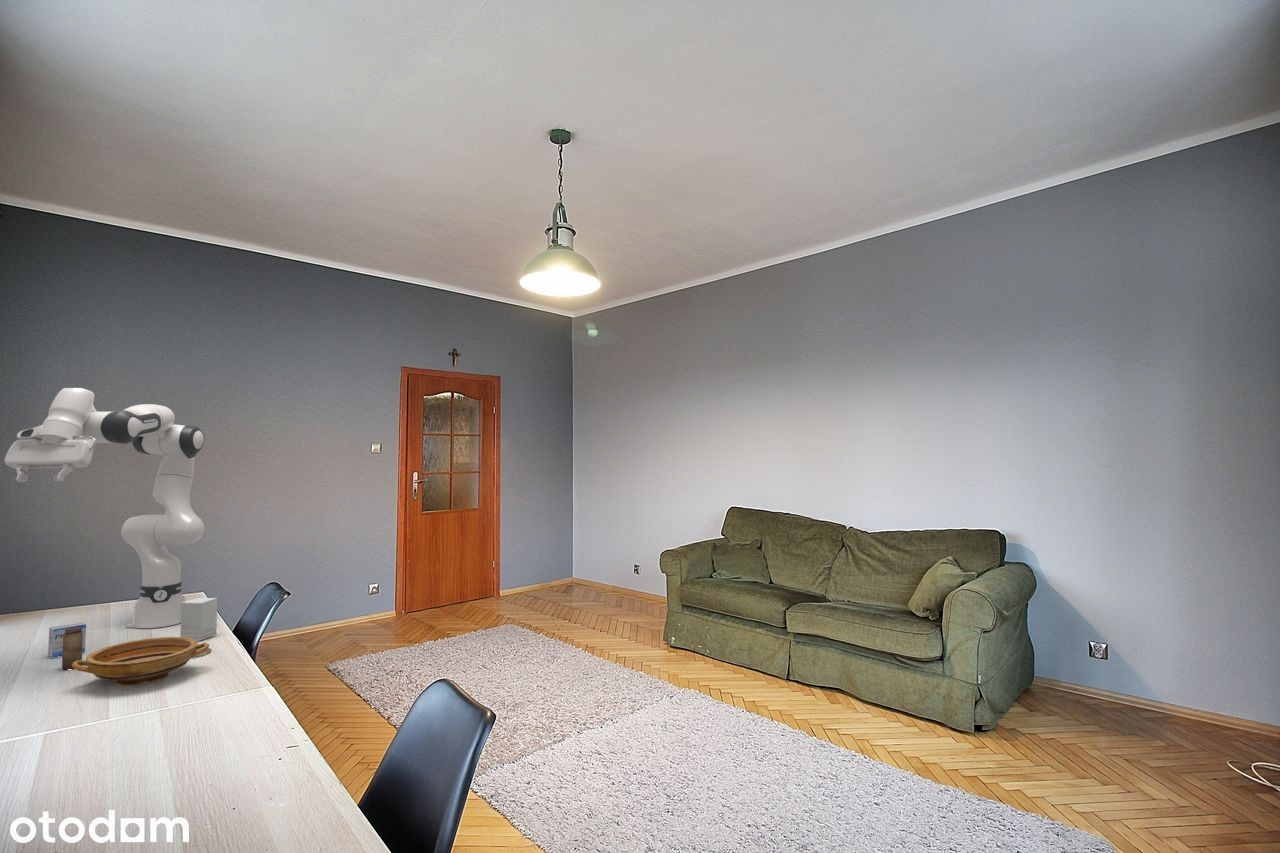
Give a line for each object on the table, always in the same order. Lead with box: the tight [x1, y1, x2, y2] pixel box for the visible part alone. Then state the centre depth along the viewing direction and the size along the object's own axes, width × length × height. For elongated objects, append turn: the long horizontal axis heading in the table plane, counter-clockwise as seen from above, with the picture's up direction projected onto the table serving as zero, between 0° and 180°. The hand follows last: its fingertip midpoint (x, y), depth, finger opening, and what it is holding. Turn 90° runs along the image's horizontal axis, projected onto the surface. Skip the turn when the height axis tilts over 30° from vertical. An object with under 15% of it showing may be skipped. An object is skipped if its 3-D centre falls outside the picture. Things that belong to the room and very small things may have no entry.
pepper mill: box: [61, 627, 83, 671], centre depth 182 cm, size 4×4×11 cm
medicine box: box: [47, 622, 87, 659], centre depth 194 cm, size 8×4×9 cm, turn 143°
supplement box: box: [179, 597, 218, 642], centre depth 211 cm, size 7×7×13 cm
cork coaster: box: [195, 647, 212, 658], centre depth 194 cm, size 10×10×1 cm
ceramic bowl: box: [72, 636, 210, 687], centre depth 174 cm, size 30×24×8 cm
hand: (39, 480), depth 175 cm, fingers open, 8 cm apart
